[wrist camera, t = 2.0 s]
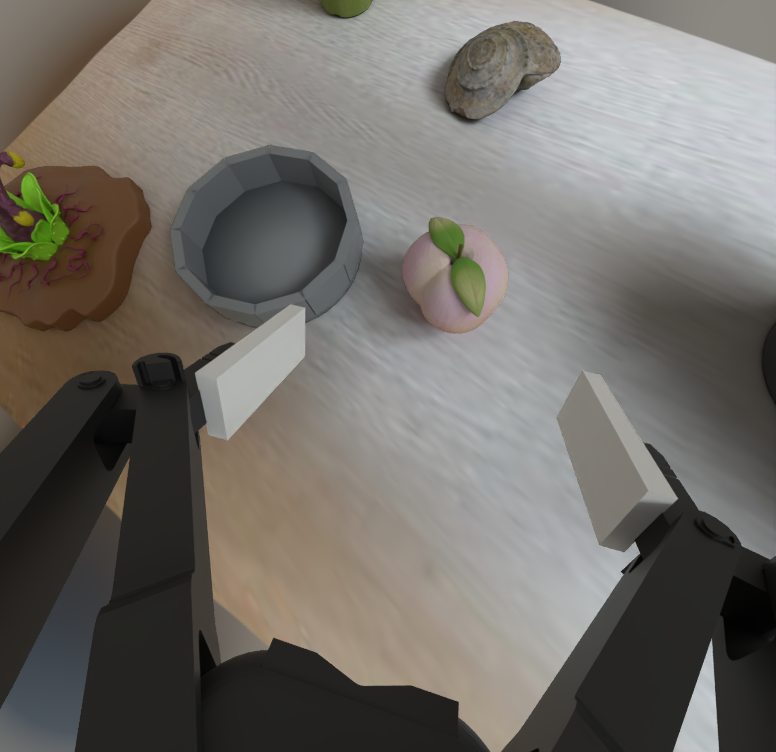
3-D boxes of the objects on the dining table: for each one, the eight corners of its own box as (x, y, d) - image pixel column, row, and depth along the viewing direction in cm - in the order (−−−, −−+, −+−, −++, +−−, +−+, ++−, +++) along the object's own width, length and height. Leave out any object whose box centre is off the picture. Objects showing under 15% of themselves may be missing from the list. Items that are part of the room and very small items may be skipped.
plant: (29, 170, 41) (-107, 70, 31) (170, 186, 39) (78, 86, 29) (-42, 317, 37) (-228, 262, 27) (111, 343, 35) (-22, 296, 25)
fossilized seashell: (453, 36, 39) (484, -32, 32) (528, 73, 41) (572, 16, 35) (436, 124, 39) (464, 73, 32) (513, 155, 41) (554, 114, 35)
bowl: (287, 155, 39) (271, 118, 34) (396, 246, 35) (394, 217, 31) (169, 256, 37) (137, 231, 32) (272, 364, 33) (251, 351, 29)
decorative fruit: (509, 320, 33) (552, 265, 23) (438, 361, 32) (451, 323, 22) (458, 249, 35) (477, 170, 25) (391, 286, 34) (383, 221, 25)
